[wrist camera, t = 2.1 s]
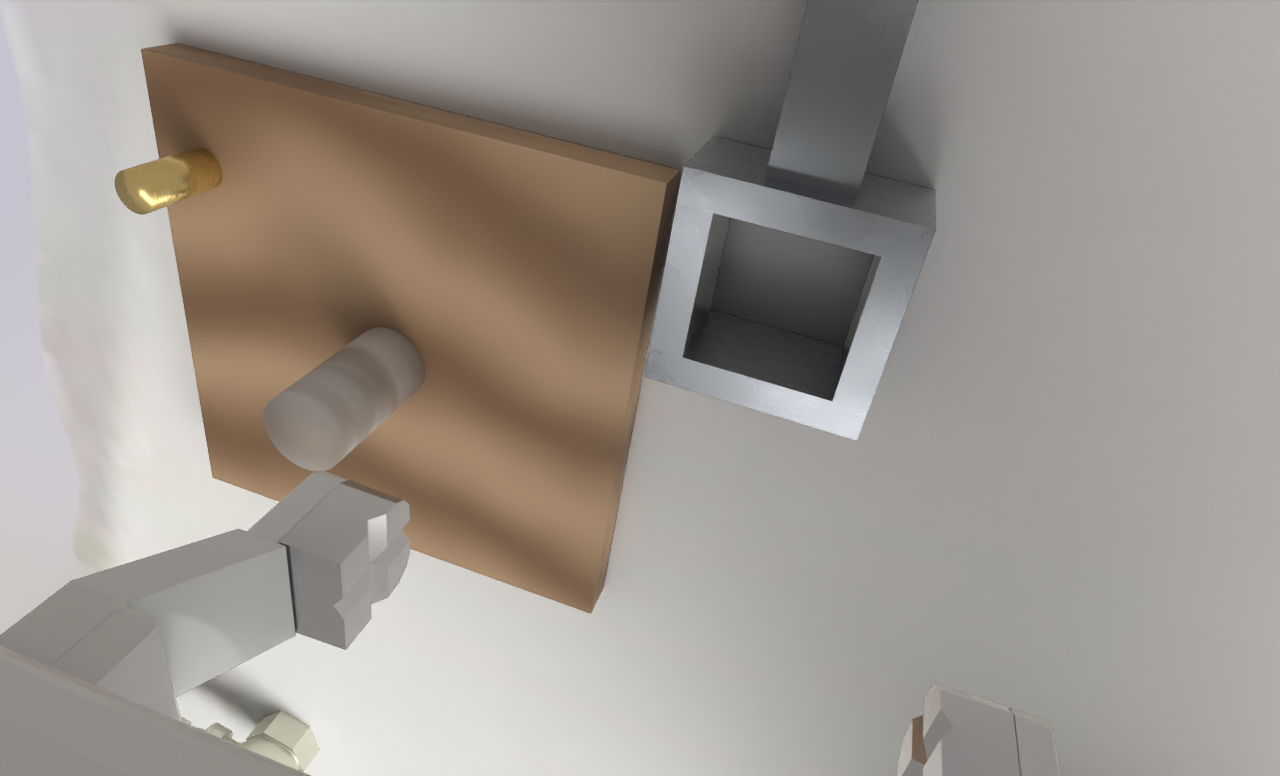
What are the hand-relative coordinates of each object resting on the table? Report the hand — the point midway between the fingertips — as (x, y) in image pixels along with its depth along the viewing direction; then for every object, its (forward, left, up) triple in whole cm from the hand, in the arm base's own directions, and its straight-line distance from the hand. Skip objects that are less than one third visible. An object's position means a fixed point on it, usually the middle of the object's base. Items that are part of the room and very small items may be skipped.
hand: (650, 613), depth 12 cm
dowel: (-2, +20, -15) cm, 25 cm away
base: (-7, +13, -15) cm, 21 cm away
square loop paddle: (+3, 0, -15) cm, 16 cm away
